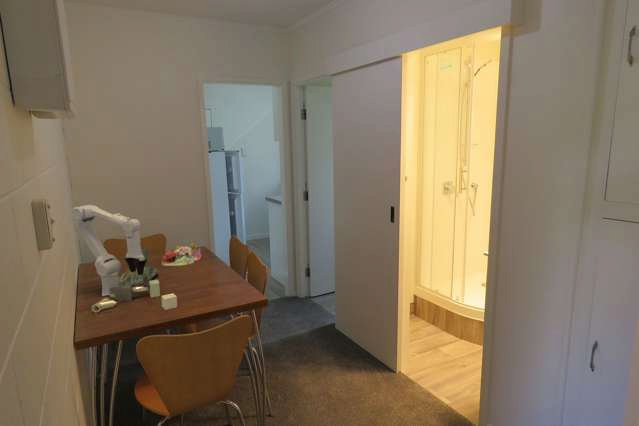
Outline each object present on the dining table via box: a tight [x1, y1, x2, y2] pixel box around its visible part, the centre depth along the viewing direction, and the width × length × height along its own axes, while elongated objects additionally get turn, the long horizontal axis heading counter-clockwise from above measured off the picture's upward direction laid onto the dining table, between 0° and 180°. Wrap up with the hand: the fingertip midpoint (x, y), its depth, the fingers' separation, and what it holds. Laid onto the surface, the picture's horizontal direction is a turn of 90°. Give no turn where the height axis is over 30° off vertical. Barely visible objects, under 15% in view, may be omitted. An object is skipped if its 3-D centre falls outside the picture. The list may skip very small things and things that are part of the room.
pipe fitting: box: [91, 296, 118, 313], centre depth 168 cm, size 8×4×7 cm
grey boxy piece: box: [109, 285, 133, 304], centre depth 177 cm, size 5×8×6 cm, turn 119°
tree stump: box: [118, 249, 159, 287], centre depth 207 cm, size 19×21×19 cm
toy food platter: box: [160, 243, 202, 267], centre depth 243 cm, size 25×24×9 cm
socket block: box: [148, 279, 161, 298], centre depth 184 cm, size 6×4×6 cm, turn 29°
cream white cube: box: [160, 293, 178, 311], centre depth 169 cm, size 5×5×5 cm
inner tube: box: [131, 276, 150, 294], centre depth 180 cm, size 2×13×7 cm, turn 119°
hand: (136, 273), depth 184 cm, fingers open, 7 cm apart
